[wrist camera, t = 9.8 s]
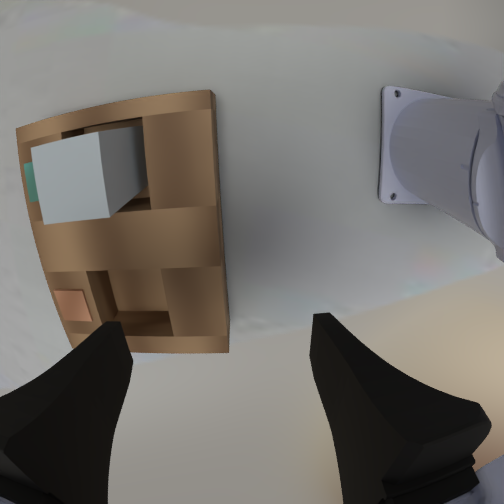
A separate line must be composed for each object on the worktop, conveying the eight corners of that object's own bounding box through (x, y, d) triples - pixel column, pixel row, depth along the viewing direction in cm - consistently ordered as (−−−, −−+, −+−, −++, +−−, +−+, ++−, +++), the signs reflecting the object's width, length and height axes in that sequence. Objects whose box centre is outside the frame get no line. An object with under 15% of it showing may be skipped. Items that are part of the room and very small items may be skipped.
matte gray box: (146, 125, 17) (98, 131, 11) (152, 182, 18) (109, 217, 12) (94, 134, 17) (30, 147, 10) (100, 188, 18) (44, 224, 12)
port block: (215, 94, 17) (209, 89, 14) (229, 321, 23) (228, 354, 20) (45, 124, 17) (13, 128, 13) (88, 321, 23) (71, 349, 20)
